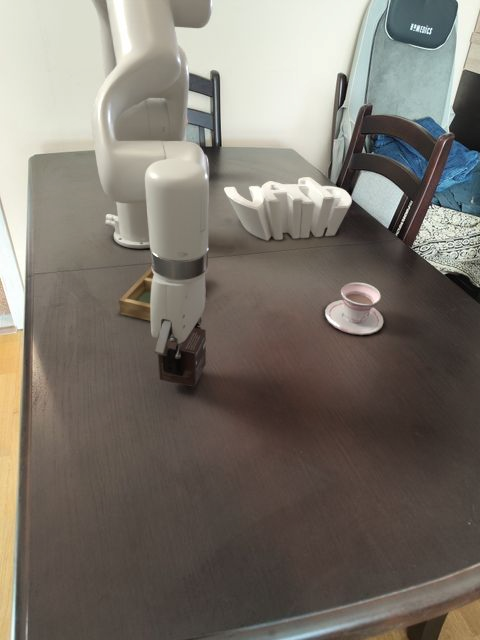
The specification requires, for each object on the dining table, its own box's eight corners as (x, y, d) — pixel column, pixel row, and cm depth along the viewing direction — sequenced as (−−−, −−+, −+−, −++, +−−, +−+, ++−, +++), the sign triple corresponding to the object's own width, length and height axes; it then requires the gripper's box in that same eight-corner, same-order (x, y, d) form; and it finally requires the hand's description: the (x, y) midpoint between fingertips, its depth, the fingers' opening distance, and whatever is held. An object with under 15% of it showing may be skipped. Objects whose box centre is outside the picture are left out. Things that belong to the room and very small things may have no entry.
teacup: (370, 343, 88) (377, 317, 84) (314, 320, 92) (319, 294, 88) (391, 315, 96) (399, 290, 92) (339, 295, 100) (344, 270, 96)
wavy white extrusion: (233, 242, 116) (235, 201, 109) (220, 215, 128) (221, 177, 121) (358, 236, 125) (367, 198, 118) (335, 211, 137) (342, 176, 130)
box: (195, 388, 72) (194, 353, 67) (158, 380, 73) (155, 345, 68) (206, 363, 77) (206, 329, 72) (172, 356, 77) (170, 321, 73)
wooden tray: (121, 314, 89) (119, 300, 86) (160, 271, 102) (159, 258, 100) (166, 324, 87) (165, 310, 85) (199, 279, 101) (199, 266, 99)
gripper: (178, 226, 68) (181, 322, 80) (122, 285, 55) (135, 389, 67) (226, 237, 67) (222, 332, 79) (180, 299, 54) (183, 402, 66)
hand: (182, 357), depth 73 cm, fingers closed on box, 6 cm apart
